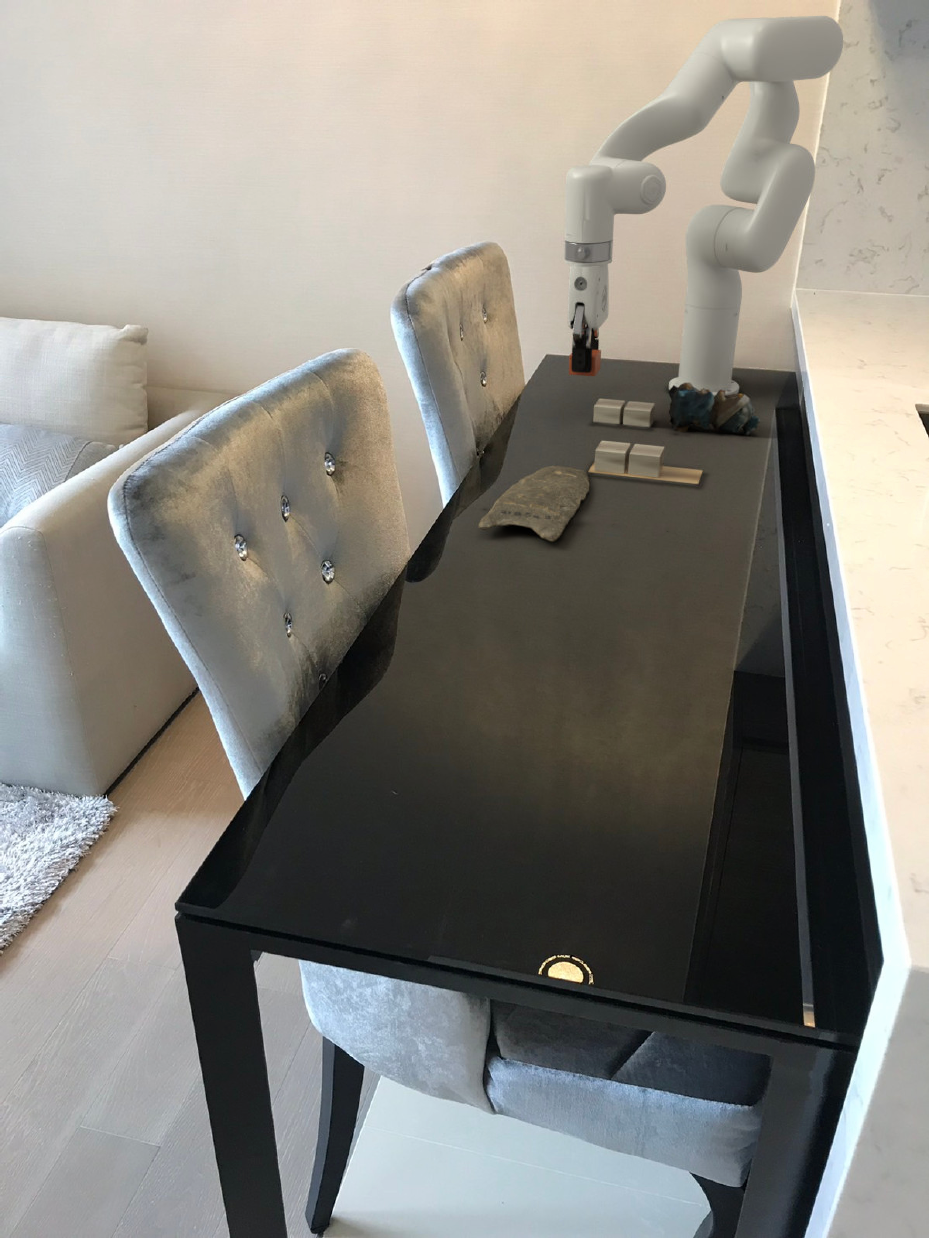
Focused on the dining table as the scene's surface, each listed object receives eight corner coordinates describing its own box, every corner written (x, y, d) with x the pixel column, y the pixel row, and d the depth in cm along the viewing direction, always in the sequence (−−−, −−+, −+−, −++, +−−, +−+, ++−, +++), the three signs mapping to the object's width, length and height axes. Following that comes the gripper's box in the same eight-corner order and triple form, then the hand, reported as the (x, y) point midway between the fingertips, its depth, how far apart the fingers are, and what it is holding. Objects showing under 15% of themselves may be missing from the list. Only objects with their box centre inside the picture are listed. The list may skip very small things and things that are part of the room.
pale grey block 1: (600, 460, 151) (601, 440, 149) (629, 463, 150) (630, 443, 148) (594, 470, 147) (595, 450, 146) (623, 474, 146) (625, 453, 144)
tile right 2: (633, 464, 149) (634, 443, 148) (662, 467, 148) (664, 446, 147) (627, 474, 146) (629, 453, 144) (658, 477, 145) (660, 456, 143)
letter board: (595, 462, 152) (596, 458, 152) (702, 474, 147) (703, 470, 147) (587, 475, 147) (588, 471, 147) (697, 487, 143) (698, 483, 142)
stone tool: (558, 550, 125) (601, 480, 146) (558, 529, 124) (602, 461, 144) (475, 539, 128) (529, 472, 149) (475, 518, 127) (529, 454, 147)
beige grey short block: (598, 416, 171) (599, 398, 169) (624, 419, 170) (625, 400, 168) (593, 424, 167) (594, 406, 166) (619, 427, 166) (620, 408, 164)
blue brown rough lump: (675, 383, 167) (767, 382, 161) (672, 433, 169) (763, 434, 163) (661, 382, 160) (756, 381, 153) (658, 434, 162) (753, 436, 155)
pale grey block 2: (627, 419, 169) (628, 401, 168) (653, 421, 168) (655, 403, 167) (622, 427, 166) (623, 408, 164) (649, 430, 165) (650, 411, 163)
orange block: (574, 367, 169) (575, 348, 167) (600, 369, 167) (601, 350, 166) (568, 374, 165) (569, 355, 163) (594, 376, 164) (595, 357, 162)
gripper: (600, 263, 149) (596, 384, 158) (622, 243, 162) (617, 355, 172) (551, 262, 151) (550, 380, 160) (577, 241, 165) (574, 352, 174)
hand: (584, 366), depth 166 cm, fingers closed on orange block, 4 cm apart
